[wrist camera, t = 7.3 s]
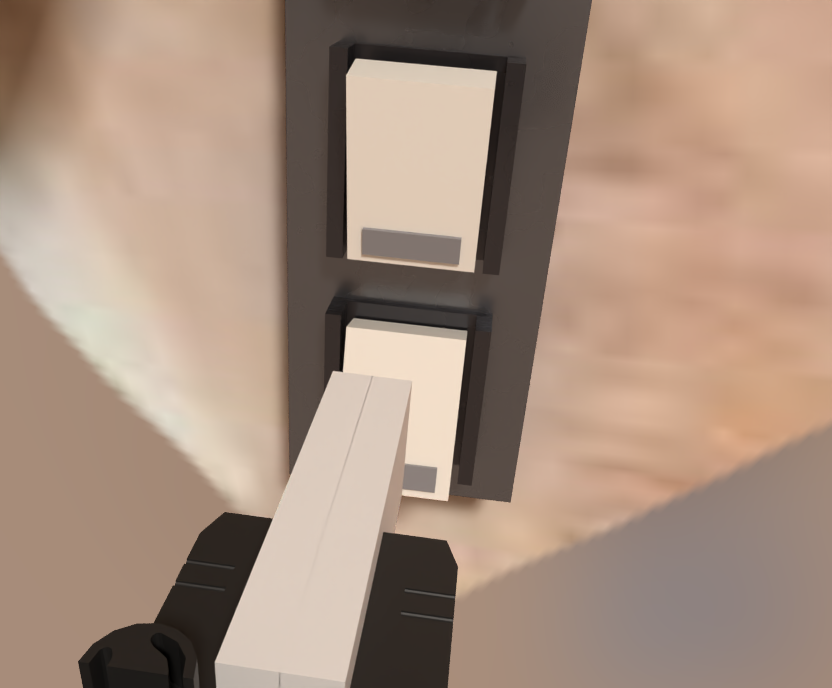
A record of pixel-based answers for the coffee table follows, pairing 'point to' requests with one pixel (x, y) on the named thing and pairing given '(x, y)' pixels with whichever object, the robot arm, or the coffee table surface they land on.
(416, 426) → the rocker
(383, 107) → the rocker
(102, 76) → the coffee table surface
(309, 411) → the rocker switch panel
